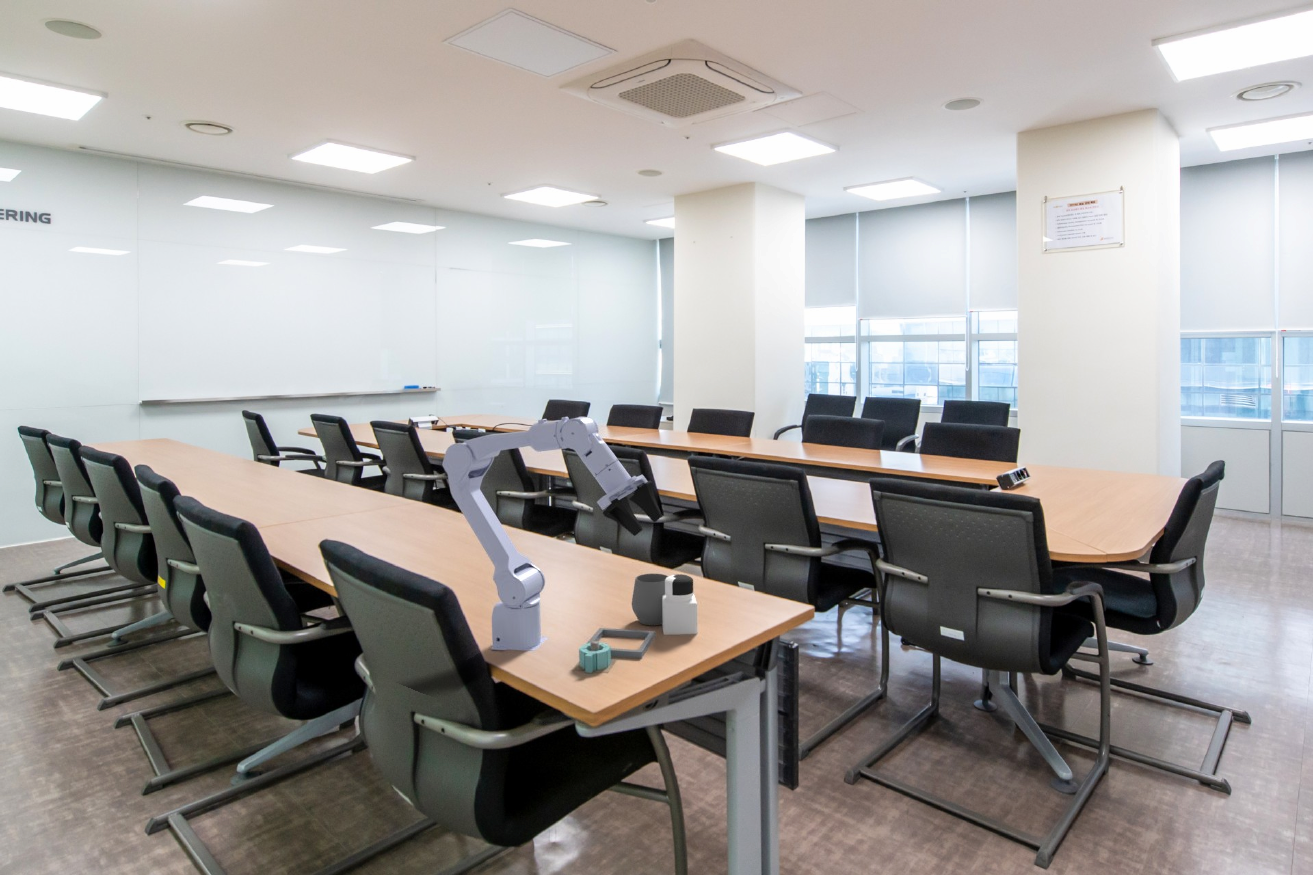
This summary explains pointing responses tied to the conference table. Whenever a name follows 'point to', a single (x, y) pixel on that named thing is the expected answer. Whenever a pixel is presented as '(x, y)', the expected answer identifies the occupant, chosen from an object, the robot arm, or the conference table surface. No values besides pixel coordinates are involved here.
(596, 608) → the conference table surface
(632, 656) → the tray
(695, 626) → the medicine bottle
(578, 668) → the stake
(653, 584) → the cup
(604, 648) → the ring
